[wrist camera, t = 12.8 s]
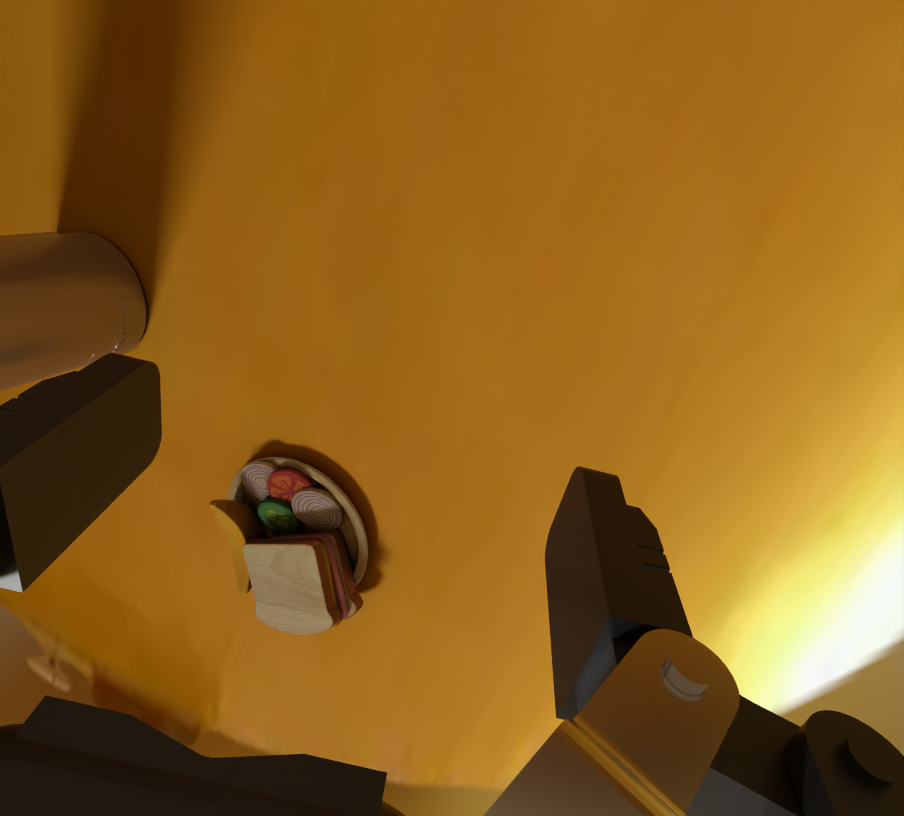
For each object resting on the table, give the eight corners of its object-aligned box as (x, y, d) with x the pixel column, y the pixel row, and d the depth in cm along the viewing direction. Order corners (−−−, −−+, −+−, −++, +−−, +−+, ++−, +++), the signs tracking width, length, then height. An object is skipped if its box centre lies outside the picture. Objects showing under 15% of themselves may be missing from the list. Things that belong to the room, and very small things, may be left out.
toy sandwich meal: (360, 454, 40) (323, 485, 36) (388, 612, 45) (358, 656, 40) (220, 447, 45) (174, 474, 41) (258, 591, 49) (220, 628, 45)
